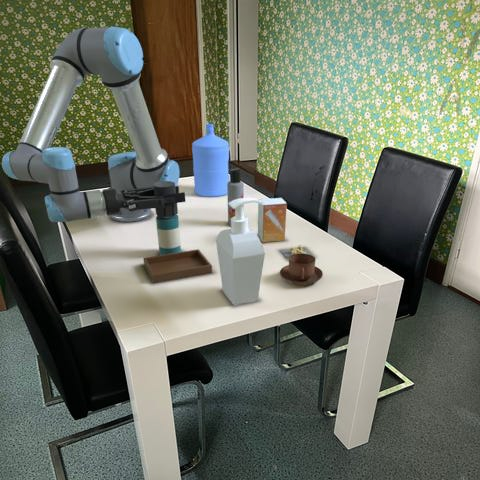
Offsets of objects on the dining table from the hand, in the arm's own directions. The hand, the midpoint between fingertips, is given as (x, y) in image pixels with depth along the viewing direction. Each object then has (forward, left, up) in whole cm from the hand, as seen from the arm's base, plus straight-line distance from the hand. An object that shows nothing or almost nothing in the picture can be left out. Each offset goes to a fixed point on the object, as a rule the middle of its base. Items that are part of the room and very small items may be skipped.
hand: (181, 193), depth 140 cm
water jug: (-59, +29, -19) cm, 68 cm away
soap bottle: (+35, +6, -19) cm, 40 cm away
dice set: (+16, +32, -19) cm, 40 cm away
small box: (+1, +30, -19) cm, 35 cm away
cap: (0, -5, -6) cm, 7 cm away
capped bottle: (0, -5, -19) cm, 19 cm away
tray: (+12, -6, -19) cm, 23 cm away
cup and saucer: (+32, +25, -19) cm, 45 cm away
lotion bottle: (-17, +24, -19) cm, 35 cm away
